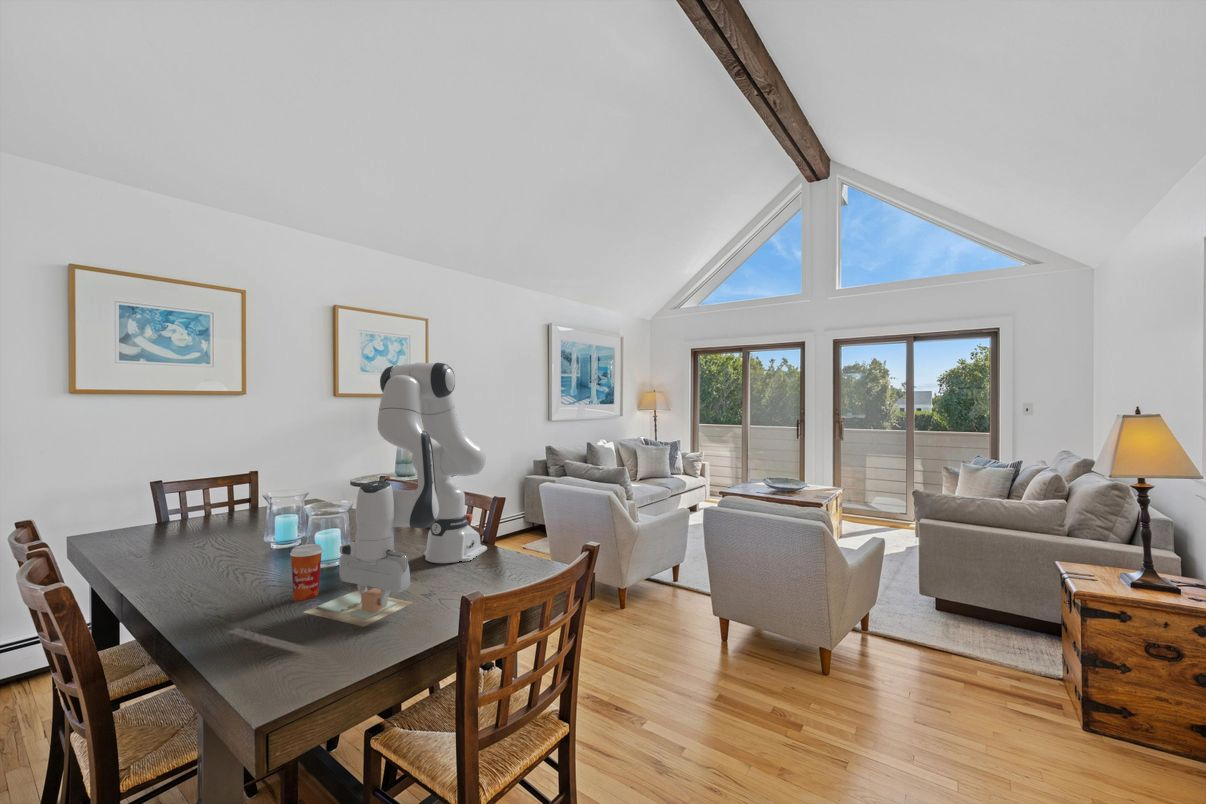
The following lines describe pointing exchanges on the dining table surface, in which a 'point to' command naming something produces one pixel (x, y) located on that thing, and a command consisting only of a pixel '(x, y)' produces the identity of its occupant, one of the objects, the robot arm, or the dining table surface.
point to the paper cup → (306, 570)
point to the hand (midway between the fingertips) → (374, 603)
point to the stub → (371, 604)
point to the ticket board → (352, 609)
